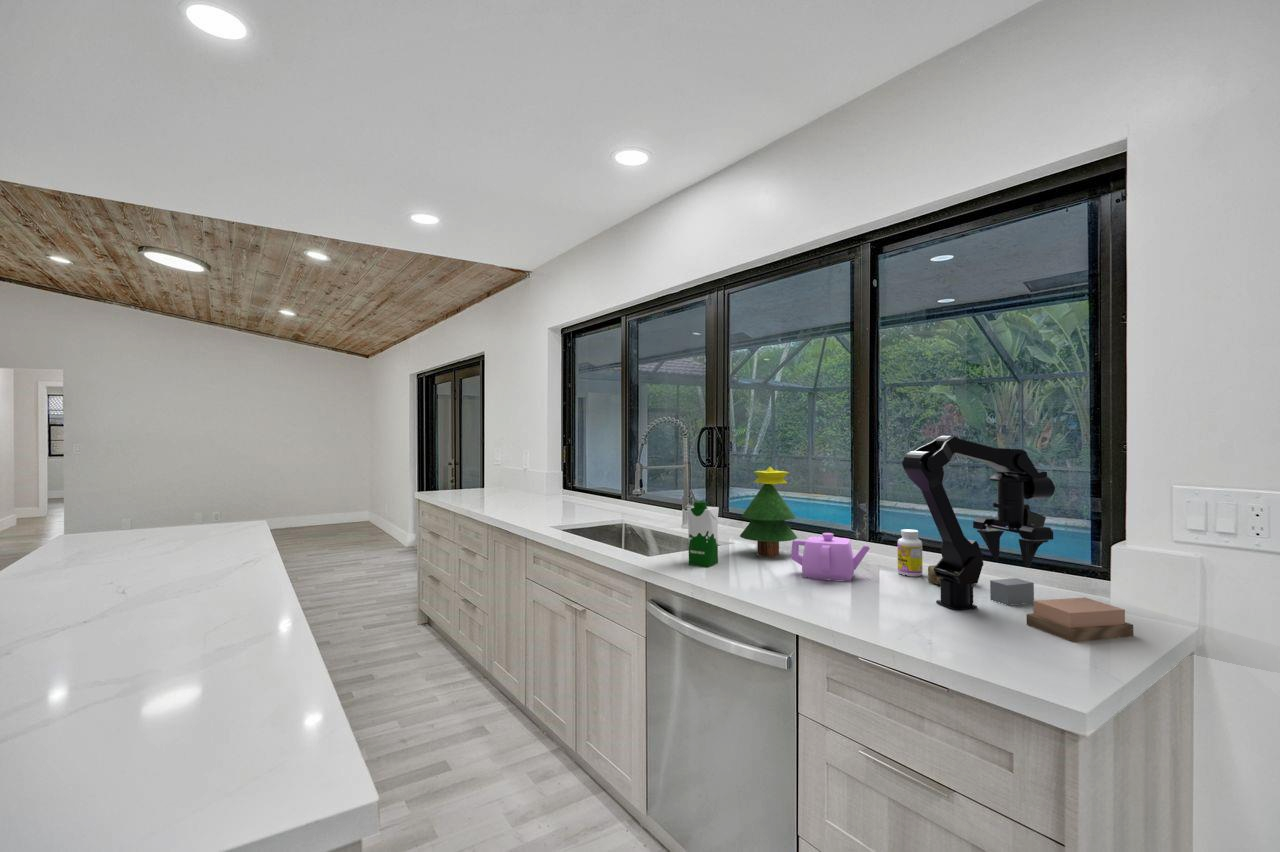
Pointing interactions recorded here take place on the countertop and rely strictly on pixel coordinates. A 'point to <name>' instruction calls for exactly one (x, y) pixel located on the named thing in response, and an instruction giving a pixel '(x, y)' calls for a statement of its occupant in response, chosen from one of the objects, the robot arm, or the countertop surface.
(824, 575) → the teakettle
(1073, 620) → the top slab
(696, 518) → the milk carton
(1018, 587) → the charcoal block
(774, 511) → the decorative tree
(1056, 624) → the base slab
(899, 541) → the supplement bottle
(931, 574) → the stone block
